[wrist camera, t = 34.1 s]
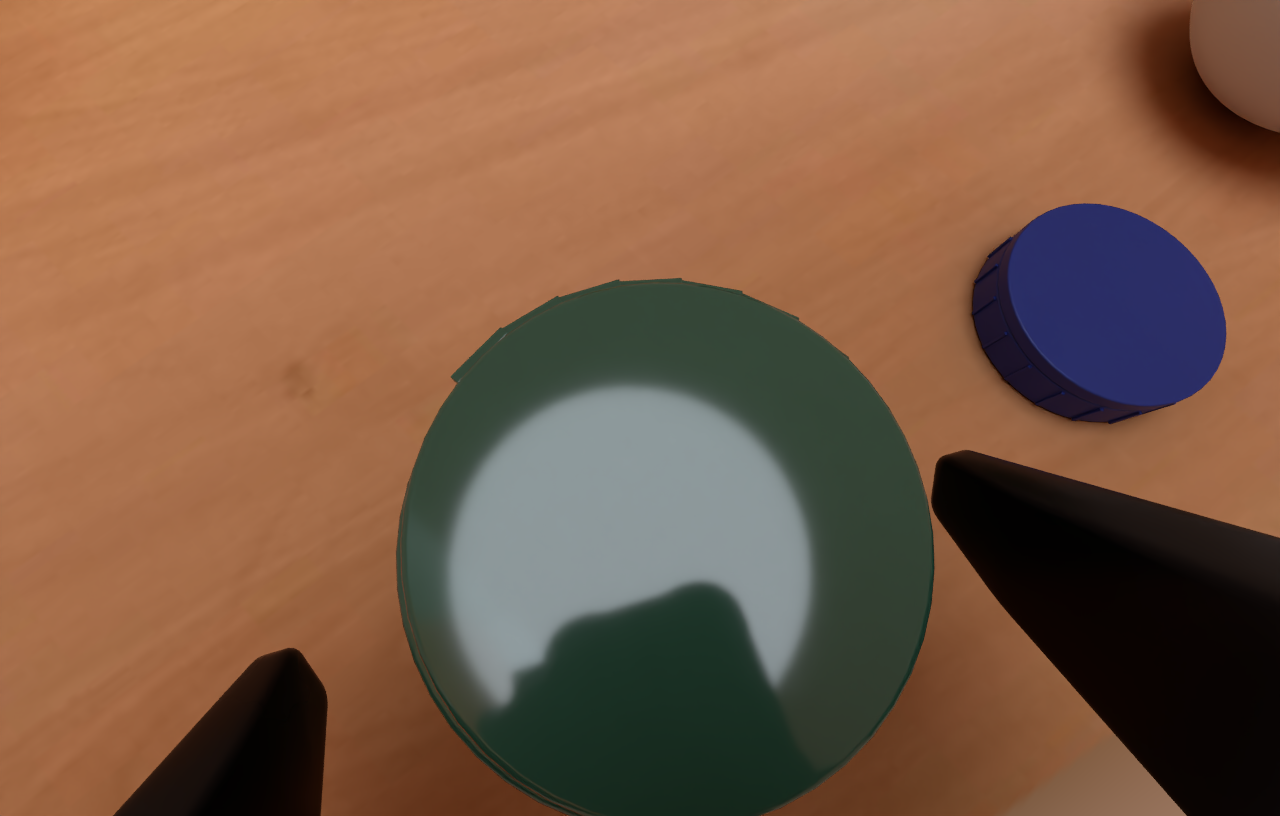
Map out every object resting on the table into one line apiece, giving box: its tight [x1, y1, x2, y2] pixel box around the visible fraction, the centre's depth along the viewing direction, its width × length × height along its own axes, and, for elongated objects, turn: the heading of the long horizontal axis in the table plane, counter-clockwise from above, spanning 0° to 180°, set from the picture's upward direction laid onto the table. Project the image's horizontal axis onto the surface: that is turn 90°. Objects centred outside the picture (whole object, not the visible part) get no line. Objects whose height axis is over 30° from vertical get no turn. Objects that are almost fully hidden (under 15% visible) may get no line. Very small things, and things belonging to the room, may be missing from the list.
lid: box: [972, 203, 1226, 424], centre depth 19 cm, size 7×7×2 cm
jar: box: [396, 278, 934, 816], centre depth 11 cm, size 6×6×11 cm
